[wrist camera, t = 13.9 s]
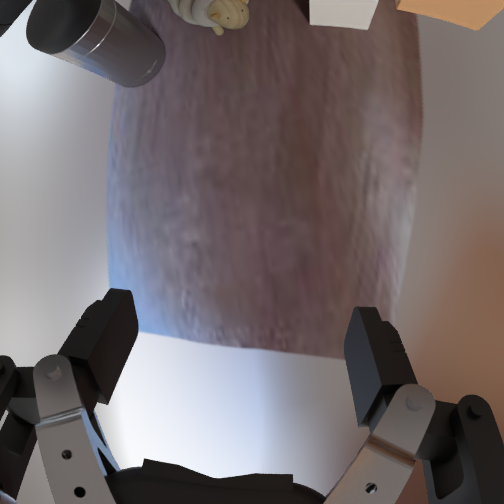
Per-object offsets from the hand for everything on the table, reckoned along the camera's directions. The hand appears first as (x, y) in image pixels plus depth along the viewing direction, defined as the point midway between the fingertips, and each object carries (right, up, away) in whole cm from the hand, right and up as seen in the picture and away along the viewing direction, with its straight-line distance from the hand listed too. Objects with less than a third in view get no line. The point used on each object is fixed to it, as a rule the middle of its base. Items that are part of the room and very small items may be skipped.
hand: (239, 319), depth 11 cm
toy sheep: (-4, +38, +25) cm, 46 cm away
